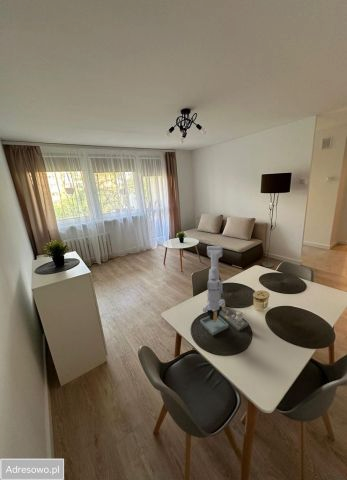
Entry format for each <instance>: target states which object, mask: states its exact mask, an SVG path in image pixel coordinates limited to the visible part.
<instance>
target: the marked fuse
mask: <svg viewBox="0 0 347 480" xmlns="http://www.w3.org/2000/svg"><path fill="white" fill-rule="evenodd" d="M212 311H213V312H214V314H213V320H211V321H212V322H217V310H216V309H214V310H212Z"/></svg>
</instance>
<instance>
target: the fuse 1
mask: <svg viewBox="0 0 347 480" xmlns="http://www.w3.org/2000/svg"><path fill="white" fill-rule="evenodd" d="M221 300H223V301H224V305H221V307H222V310H221V311H223V309H225V306H226V300H225V299H224V298H221V299H220V301H221Z"/></svg>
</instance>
